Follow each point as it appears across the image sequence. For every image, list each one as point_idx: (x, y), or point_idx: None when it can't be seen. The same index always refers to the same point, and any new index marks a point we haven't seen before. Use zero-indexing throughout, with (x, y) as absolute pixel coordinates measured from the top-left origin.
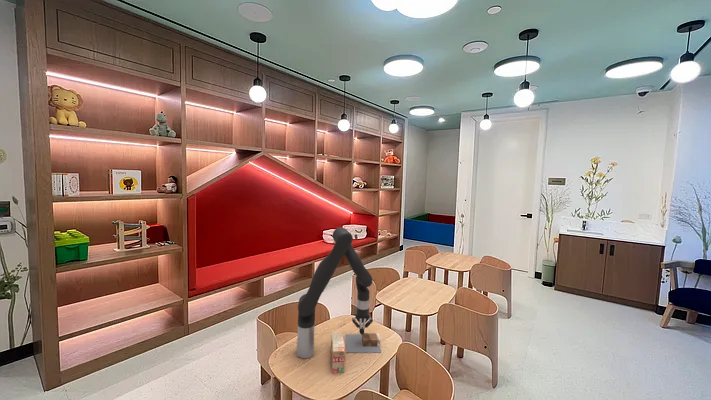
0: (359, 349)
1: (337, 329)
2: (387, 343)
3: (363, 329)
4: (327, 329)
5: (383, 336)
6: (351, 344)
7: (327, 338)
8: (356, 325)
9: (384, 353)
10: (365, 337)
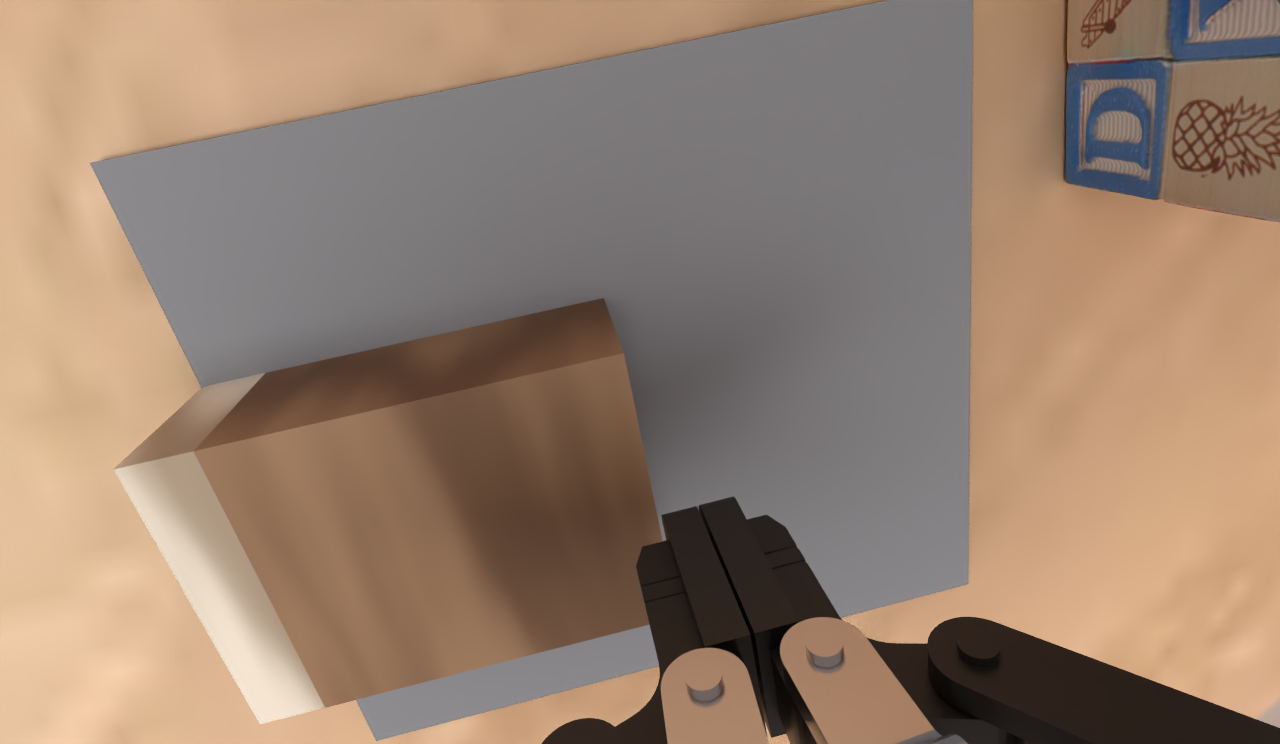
0: (673, 161)
1: None
2: (68, 542)
3: (689, 639)
4: (1231, 626)
5: (230, 722)
6: (857, 308)
7: (1274, 403)
8: (1091, 686)
9: (7, 149)
10: (575, 477)
